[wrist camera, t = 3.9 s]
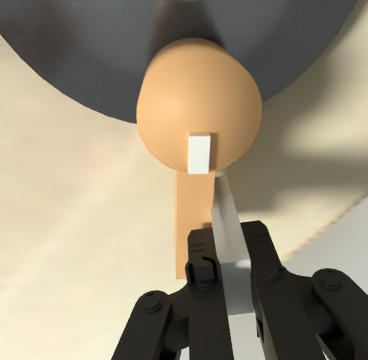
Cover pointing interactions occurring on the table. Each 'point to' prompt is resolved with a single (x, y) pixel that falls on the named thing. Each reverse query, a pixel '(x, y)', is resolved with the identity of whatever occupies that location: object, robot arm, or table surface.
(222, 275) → the robot arm
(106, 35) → the base
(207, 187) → the knob
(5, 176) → the table surface
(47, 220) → the table surface
